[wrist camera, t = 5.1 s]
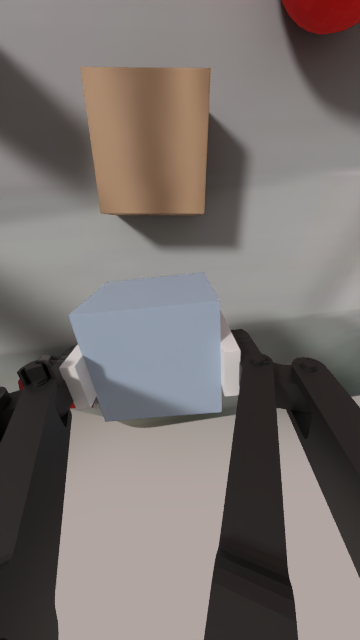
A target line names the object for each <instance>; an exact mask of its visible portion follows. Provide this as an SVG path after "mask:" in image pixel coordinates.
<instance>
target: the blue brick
mask: <svg viewBox="0 0 360 640" xmlns="http://www.w3.org/2000/svg"><path fill="white" fill-rule="evenodd" d="M68 317H69V319H70V322H71V325H72V328H73V331H74V334H75V336H76V339H77V342H78V345H79V348H80V351H81V354H82V355H83V357H84V360H85V363H86V366H87V369H88V371H89V374H90V377H91V380H92V383H93V386H94V388H95V391H96V394H97V399H98V402H99V405H100V408H101V411H102V413H103V416H104V419H105V421H119V420H131V419H143V418H155V417H167V416H179V415H191V414H203V413H215V412H222V392H221V350H220V342H221V335H220V300H219V298H218V297H217V295H216V293H215V291H214V289H213V288H212V286H211V284H210V282H209V280H208V279H207V277H206V275H205V273H204V272H202V273H192V274H182V275H172V276H162V277H152V278H142V279H132V280H122V281H113V282H106V283H105V284H104V285H103V286H102V287H101V288H99V289H98V290H97V291H96V292H95V293H94V294H93V295H91V296H90V297H89V298H88V299H87V300H86V301H84V302H83V303H82V304H81V305H80V306H79V307H77V308H76V309H75V310H74V311H73V312H72V313H71V314H69V315H68Z"/></svg>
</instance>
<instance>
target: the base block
mask: <svg viewBox="0 0 360 640" xmlns="http://www.w3.org/2000/svg"><path fill="white" fill-rule="evenodd" d="M80 68H81V75H82V83H83V90H84V97H85V104H86V111H87V118H88V125H89V133H90V140H91V147H92V154H93V161H94V168H95V175H96V183H97V190H98V197H99V204H100V211H101V213H102V214H110V215H201V214H204V207H205V185H206V162H207V140H208V117H209V94H210V72H211V68H127V67H80Z"/></svg>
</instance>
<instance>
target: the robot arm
mask: <svg viewBox="0 0 360 640" xmlns="http://www.w3.org/2000/svg"><path fill="white" fill-rule="evenodd" d="M220 335H221V342H220V350H221V385H222V388H223V392H224V395H225V396H235V395H239V396H238V404H237V411H236V419H235V427H234V434H233V442H232V450H231V458H230V465H229V473H228V481H227V488H226V496H225V504H224V512H223V519H222V527H221V535H220V542H219V547H218V551H217V554H216V559H215V565H214V571H213V578H212V585H211V592H210V600H209V606H208V614H207V621H206V628H205V636H204V640H298V634H297V622H296V612H295V602H294V596H293V590H292V586H291V583H290V579H289V574H288V567H287V555H286V539H285V525H284V511H283V496H282V483H281V469H280V454H279V441H278V426H277V412H276V408H282V409H286V410H287V413H288V415H289V417H290V419H291V422H292V424H293V426H294V429H295V431H296V433H297V435H298V438H299V440H300V442H301V445H302V447H303V449H304V451H305V454H306V456H307V458H308V461H309V463H310V465H311V467H312V470H313V472H314V474H315V477H316V479H317V481H318V483H319V486H320V488H321V490H322V493H323V495H324V497H325V499H326V502H327V504H328V506H329V509H330V511H331V513H332V515H333V518H334V520H335V522H336V525H337V527H338V529H339V532H340V534H341V536H342V538H343V541H344V543H345V545H346V548H347V550H348V552H349V554H350V556H351V559H352V561H353V563H354V566H355V568H356V570H357V573H358V575H359V577H360V408H359V406H358V405H357V404H356V402H355V401H354V400H353V399H352V398H351V396H350V395H349V394H348V393H347V392H346V390H345V389H344V388H343V387H342V386H341V384H340V383H339V382H338V381H337V380H336V378H335V377H334V376H333V375H332V374H331V372H330V371H329V370H328V369H327V368H326V366H325V365H323V364H322V363H321V362H319V361H317V360H315V359H311V358H305V357H301V358H296V359H295V360H293V362H292V366H291V365H282V364H276V363H273V361H272V359H271V358H269V357H268V356H266V355H264V354H261V353H260V351H259V349H258V348H257V346H256V345H255V343H254V342H253V340H252V339H251V337H250V336H249V334H248V333H247V332H246V331H244V330H242V329H238V330H230V329H229V327H228V325H227V323H226V321H225V319H224V317H223V315H222V313H221V311H220ZM17 374H18V376H19V378H20V379H21V381H22V383H23V385H24V388H23V390H19V391H16V392H12V393H8V391H7V390H6V388H4V387H0V640H58V620H57V616H56V610H55V586H56V577H57V576H56V575H57V565H58V556H59V544H60V535H61V524H62V514H63V503H64V493H65V482H66V471H67V460H68V450H69V440H70V430H71V419H72V414H71V411H70V406H71V405H72V403H74V405H75V407H76V410H82V409H91V407H92V405H93V403H94V401H95V398H96V396H97V394H96V391H95V388H94V386H93V383H92V380H91V377H90V374H89V371H88V369H87V366H86V363H85V360H84V357H83V355H82V354H81V351H80V348H79V345H77V346H72V347H71V348H70V349H68V350H67V351H65V353H64V354H63V355H62V356H61V357H60V358H59V360H58V362H56V363H55V364H54V366H53V367H52V368H51V366H50V364H49V361H47V360H37V361H34V362H31V363H29V364H27V365H25V366H23V367H22V368H21V369H19V371H18V372H17Z"/></svg>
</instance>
